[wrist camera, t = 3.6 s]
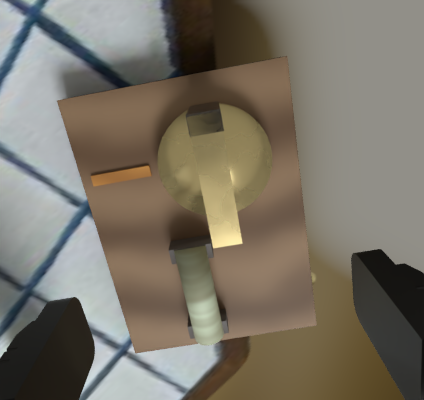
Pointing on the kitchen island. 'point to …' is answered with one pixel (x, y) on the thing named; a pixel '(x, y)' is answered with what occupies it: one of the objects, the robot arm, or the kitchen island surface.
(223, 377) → the kitchen island surface
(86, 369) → the robot arm
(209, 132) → the wing knob
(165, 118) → the knob and handle board
